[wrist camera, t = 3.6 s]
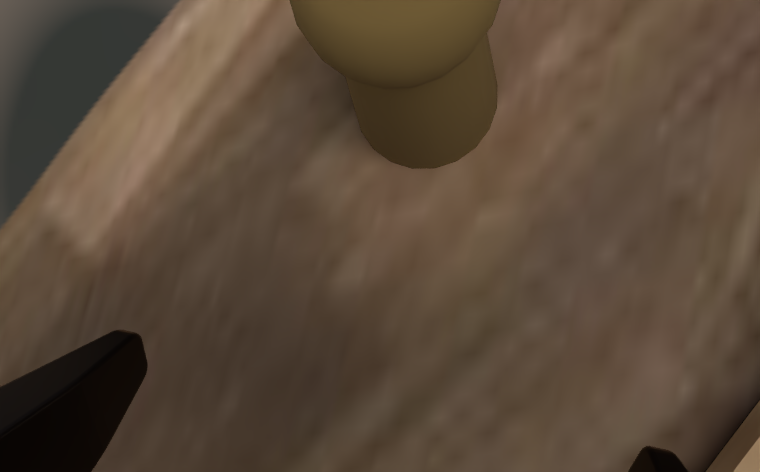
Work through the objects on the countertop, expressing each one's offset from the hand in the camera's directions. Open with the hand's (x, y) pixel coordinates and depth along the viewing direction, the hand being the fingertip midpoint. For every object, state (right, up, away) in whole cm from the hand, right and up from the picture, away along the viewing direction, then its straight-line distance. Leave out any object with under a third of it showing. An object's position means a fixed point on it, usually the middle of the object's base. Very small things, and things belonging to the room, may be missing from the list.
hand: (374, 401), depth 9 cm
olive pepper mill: (+2, +9, +12) cm, 15 cm away
